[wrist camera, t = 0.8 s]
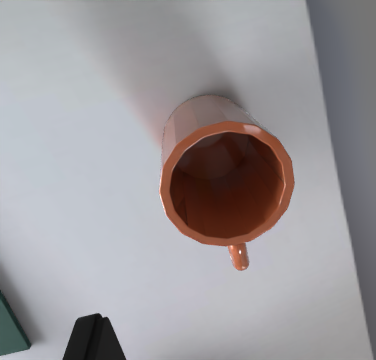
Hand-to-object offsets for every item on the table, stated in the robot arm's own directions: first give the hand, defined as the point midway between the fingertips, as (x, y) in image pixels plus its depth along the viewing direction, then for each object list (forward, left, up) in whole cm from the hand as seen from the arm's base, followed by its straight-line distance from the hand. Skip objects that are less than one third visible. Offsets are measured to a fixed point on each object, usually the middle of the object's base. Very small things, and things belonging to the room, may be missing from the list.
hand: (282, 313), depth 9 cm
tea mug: (+1, 0, -17) cm, 17 cm away
